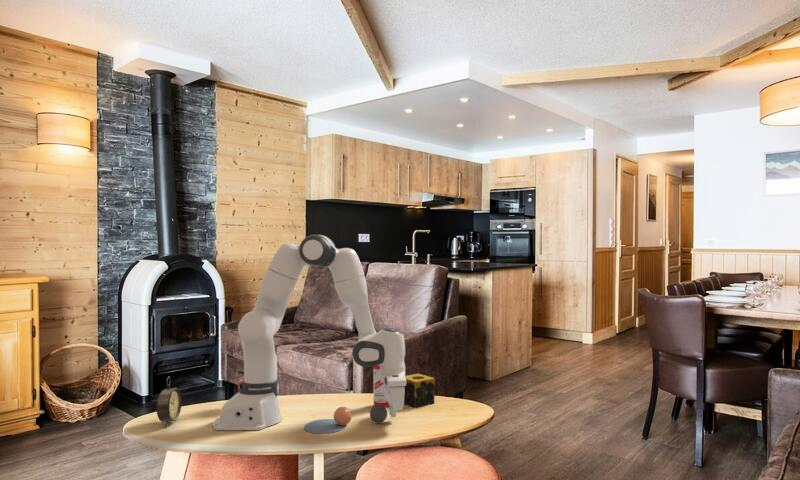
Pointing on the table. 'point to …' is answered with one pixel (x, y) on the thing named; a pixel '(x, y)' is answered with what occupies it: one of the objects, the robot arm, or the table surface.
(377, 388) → the beer can
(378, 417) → the gray ball
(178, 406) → the alarm clock
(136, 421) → the table surface
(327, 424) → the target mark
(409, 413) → the table surface
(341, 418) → the terracotta egg
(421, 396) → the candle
